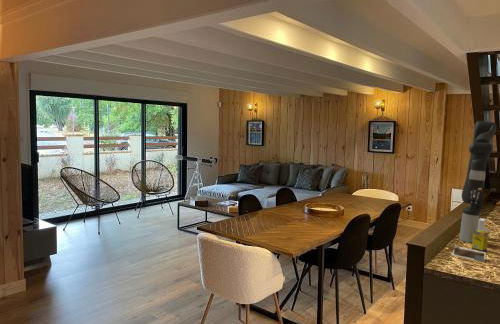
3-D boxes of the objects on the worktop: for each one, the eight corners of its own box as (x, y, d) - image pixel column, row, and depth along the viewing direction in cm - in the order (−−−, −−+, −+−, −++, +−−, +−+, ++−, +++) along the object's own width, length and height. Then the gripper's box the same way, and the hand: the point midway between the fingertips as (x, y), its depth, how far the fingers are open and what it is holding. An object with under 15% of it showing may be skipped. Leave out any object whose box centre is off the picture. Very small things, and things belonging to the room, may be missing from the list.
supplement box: (482, 251, 213) (484, 233, 212) (471, 248, 218) (473, 230, 217) (486, 250, 217) (489, 232, 216) (475, 247, 222) (478, 229, 221)
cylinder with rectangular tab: (473, 234, 253) (475, 217, 252) (488, 237, 248) (491, 219, 247) (470, 236, 246) (473, 219, 245) (486, 240, 241) (489, 221, 240)
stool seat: (455, 248, 216) (455, 246, 215) (485, 255, 207) (485, 252, 207) (451, 257, 198) (451, 255, 198) (484, 265, 190) (484, 262, 190)
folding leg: (453, 254, 200) (454, 247, 199) (453, 252, 202) (454, 246, 202) (483, 260, 193) (484, 253, 193) (483, 258, 195) (484, 252, 195)
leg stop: (474, 258, 194) (475, 254, 194) (483, 260, 192) (484, 256, 192) (474, 259, 193) (474, 255, 192) (483, 261, 190) (483, 257, 190)
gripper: (484, 180, 196) (480, 212, 198) (485, 178, 207) (481, 209, 209) (468, 178, 201) (464, 210, 202) (469, 177, 212) (466, 206, 213)
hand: (472, 209), depth 206 cm, fingers closed
